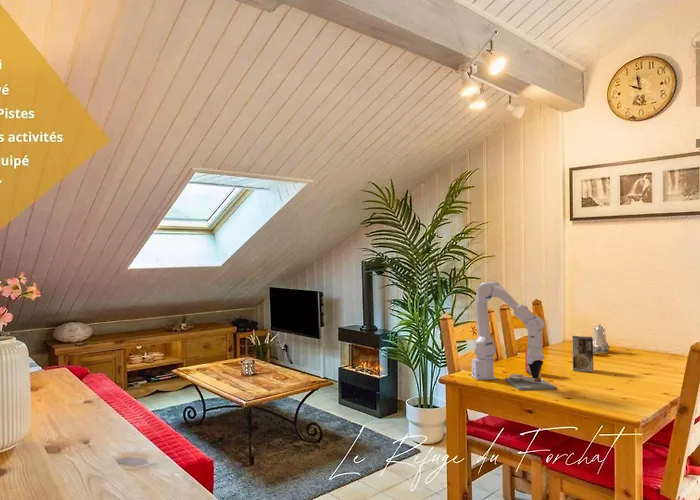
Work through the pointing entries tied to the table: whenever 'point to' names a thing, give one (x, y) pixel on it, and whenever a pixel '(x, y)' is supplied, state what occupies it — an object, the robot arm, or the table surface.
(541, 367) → the soda can
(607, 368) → the table surface
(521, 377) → the crank handle
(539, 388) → the base plate
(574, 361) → the coffee box
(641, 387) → the table surface
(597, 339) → the chinaware
